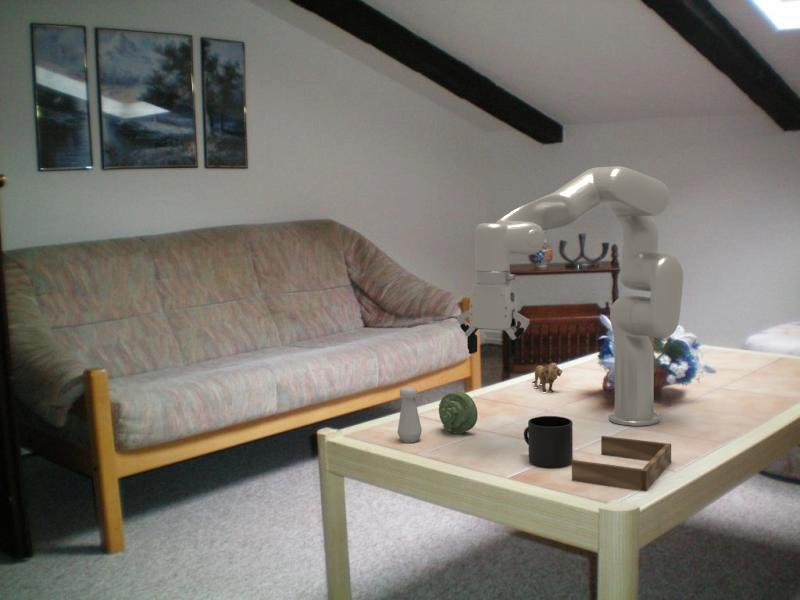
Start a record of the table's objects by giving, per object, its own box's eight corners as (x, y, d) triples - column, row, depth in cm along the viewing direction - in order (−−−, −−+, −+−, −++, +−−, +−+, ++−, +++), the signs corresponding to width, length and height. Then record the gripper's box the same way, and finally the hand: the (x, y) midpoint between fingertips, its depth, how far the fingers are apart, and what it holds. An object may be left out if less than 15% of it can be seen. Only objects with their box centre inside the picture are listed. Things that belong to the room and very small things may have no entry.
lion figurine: (564, 394, 250) (564, 363, 249) (548, 396, 248) (548, 365, 247) (539, 384, 263) (539, 354, 262) (524, 385, 262) (523, 356, 260)
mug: (537, 450, 197) (537, 411, 196) (581, 461, 189) (581, 420, 187) (510, 459, 191) (510, 419, 190) (554, 471, 182) (554, 429, 181)
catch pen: (602, 453, 193) (602, 435, 193) (671, 461, 186) (671, 443, 185) (571, 480, 176) (571, 461, 176) (645, 491, 169) (645, 471, 168)
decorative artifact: (478, 434, 212) (477, 394, 211) (461, 441, 207) (459, 400, 206) (445, 427, 219) (444, 389, 217) (428, 434, 213) (427, 394, 212)
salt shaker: (394, 439, 210) (392, 386, 209) (415, 435, 212) (414, 383, 211) (404, 445, 205) (402, 391, 203) (426, 441, 207) (424, 388, 205)
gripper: (535, 278, 191) (535, 355, 193) (464, 276, 200) (465, 349, 202) (522, 281, 185) (522, 360, 187) (450, 278, 194) (450, 354, 195)
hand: (492, 354), depth 194 cm, fingers open, 9 cm apart
